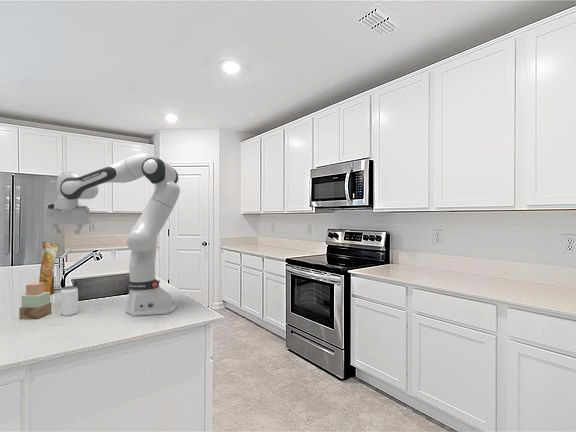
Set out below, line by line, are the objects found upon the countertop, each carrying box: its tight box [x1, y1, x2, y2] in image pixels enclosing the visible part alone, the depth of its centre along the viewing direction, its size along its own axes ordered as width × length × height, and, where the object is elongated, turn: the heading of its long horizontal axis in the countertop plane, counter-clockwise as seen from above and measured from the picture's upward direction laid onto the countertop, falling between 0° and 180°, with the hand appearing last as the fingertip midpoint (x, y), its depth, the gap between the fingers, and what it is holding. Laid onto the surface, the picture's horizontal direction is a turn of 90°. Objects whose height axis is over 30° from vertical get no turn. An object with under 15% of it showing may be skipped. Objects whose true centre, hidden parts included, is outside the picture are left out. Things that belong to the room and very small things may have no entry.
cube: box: [25, 282, 44, 295], centre depth 144 cm, size 4×4×4 cm
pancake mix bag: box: [38, 241, 60, 296], centre depth 183 cm, size 7×19×28 cm, turn 52°
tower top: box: [21, 292, 51, 308], centre depth 144 cm, size 7×7×5 cm
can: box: [60, 285, 79, 317], centre depth 148 cm, size 6×6×12 cm
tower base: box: [18, 302, 52, 320], centre depth 145 cm, size 8×8×5 cm
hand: (68, 233), depth 162 cm, fingers open, 8 cm apart
